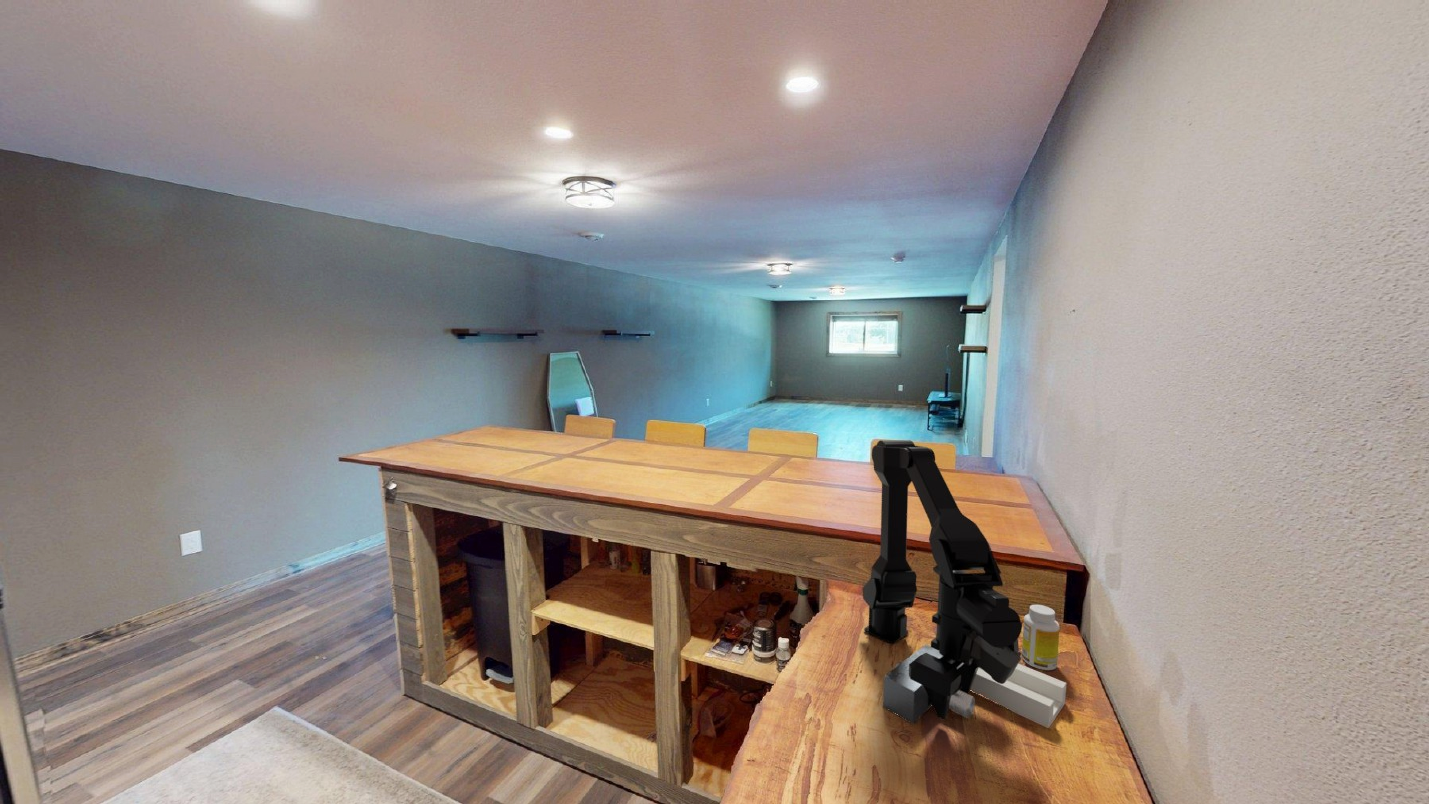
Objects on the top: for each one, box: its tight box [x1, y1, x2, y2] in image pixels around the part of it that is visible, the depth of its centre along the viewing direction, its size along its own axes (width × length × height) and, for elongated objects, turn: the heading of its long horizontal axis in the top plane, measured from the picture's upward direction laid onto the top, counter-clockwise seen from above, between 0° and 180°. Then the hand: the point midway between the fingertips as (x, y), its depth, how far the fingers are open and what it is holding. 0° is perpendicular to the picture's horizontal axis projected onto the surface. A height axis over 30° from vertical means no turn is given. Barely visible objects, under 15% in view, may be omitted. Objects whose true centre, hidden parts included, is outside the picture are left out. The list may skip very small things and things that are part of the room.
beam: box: [882, 644, 942, 725], centre depth 84 cm, size 5×14×5 cm, turn 132°
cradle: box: [970, 663, 1067, 729], centre depth 85 cm, size 13×9×4 cm, turn 42°
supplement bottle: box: [1021, 604, 1060, 671], centre depth 94 cm, size 6×6×10 cm
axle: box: [894, 661, 976, 719], centre depth 83 cm, size 12×3×3 cm, turn 41°
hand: (952, 706), depth 80 cm, fingers open, 8 cm apart
